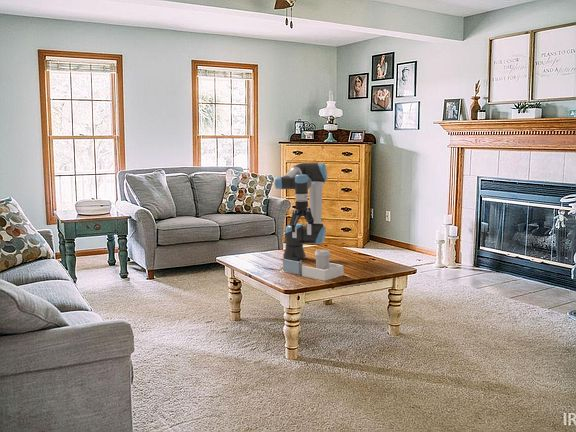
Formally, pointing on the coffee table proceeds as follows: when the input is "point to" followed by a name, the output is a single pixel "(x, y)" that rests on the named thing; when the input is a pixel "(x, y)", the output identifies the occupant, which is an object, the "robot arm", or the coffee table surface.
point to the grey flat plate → (291, 266)
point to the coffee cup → (322, 259)
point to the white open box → (322, 272)
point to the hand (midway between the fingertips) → (301, 236)
